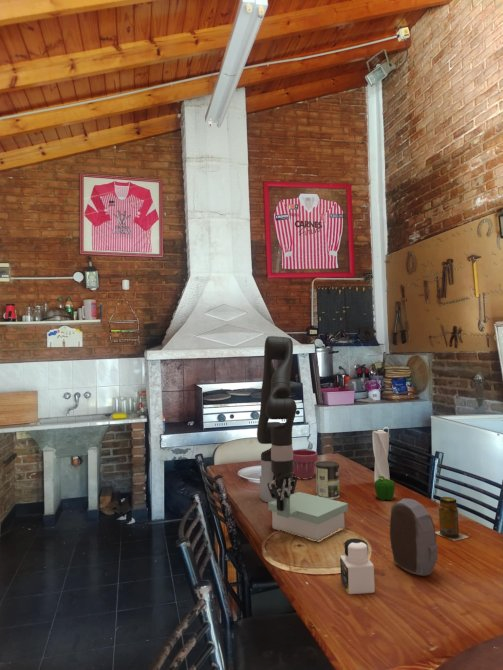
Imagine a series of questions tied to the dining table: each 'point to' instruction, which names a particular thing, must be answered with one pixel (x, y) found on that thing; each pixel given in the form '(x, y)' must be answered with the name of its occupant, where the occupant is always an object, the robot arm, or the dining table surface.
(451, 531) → the condiment
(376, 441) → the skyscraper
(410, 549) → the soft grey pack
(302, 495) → the lid
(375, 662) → the dining table surface
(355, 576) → the medicine bottle
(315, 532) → the parts tub
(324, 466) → the coffee can
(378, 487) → the bell pepper
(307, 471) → the plant pot
